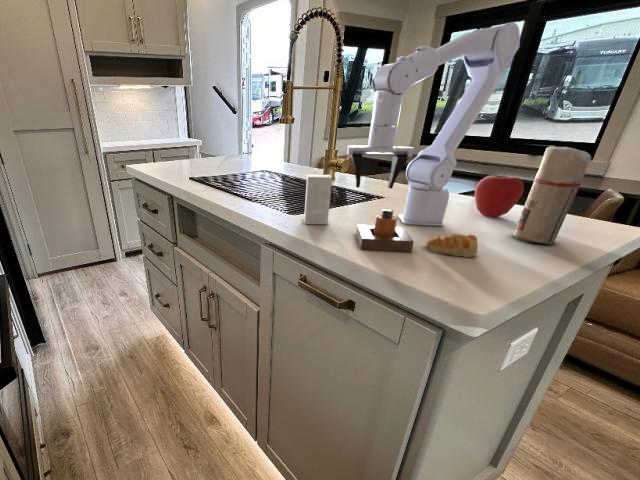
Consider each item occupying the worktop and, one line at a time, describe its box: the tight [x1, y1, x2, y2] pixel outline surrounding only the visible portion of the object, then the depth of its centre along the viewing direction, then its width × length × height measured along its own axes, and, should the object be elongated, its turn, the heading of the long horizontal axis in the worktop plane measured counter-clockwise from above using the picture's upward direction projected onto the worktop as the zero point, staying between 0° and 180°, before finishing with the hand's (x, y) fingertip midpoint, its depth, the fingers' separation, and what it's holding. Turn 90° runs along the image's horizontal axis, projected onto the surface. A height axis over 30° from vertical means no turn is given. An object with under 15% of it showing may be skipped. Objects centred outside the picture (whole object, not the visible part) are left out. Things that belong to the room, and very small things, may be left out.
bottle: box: [373, 208, 399, 237], centre depth 80 cm, size 4×4×8 cm
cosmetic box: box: [303, 174, 333, 225], centre depth 93 cm, size 6×4×12 cm
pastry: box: [425, 233, 479, 258], centre depth 76 cm, size 9×7×4 cm
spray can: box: [512, 145, 592, 245], centre depth 79 cm, size 8×8×20 cm
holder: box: [355, 224, 415, 253], centre depth 81 cm, size 10×10×2 cm
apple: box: [474, 172, 525, 218], centre depth 99 cm, size 11×11×12 cm
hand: (373, 187), depth 88 cm, fingers open, 7 cm apart
